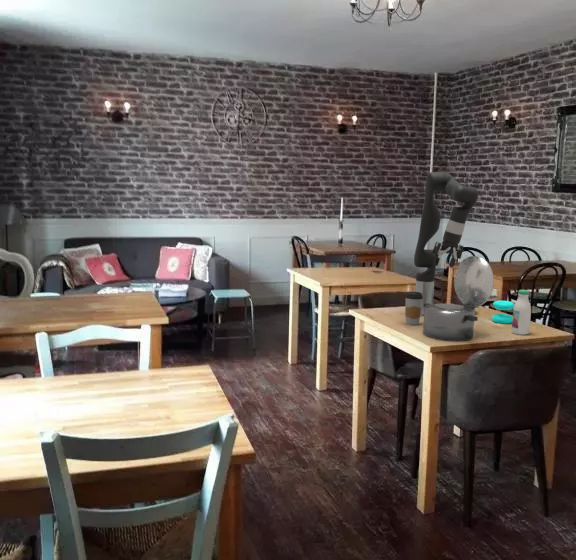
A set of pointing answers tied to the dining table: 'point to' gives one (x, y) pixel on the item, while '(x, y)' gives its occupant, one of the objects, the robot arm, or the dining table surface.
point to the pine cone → (457, 301)
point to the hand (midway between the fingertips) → (443, 266)
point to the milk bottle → (521, 314)
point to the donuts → (503, 317)
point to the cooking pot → (449, 322)
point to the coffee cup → (413, 307)
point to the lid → (473, 281)
